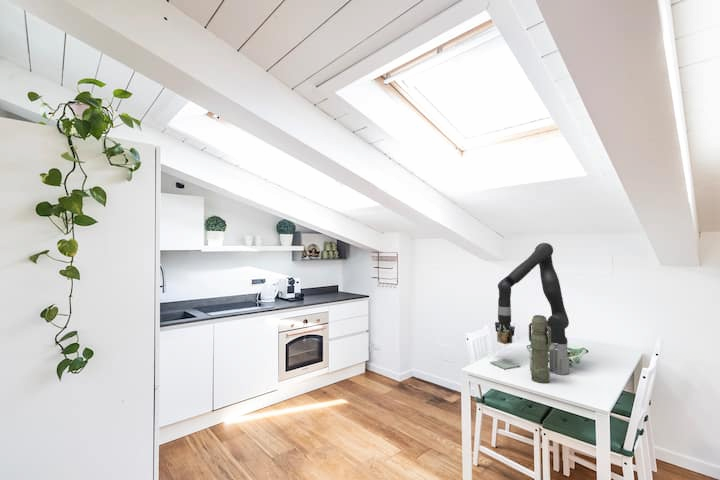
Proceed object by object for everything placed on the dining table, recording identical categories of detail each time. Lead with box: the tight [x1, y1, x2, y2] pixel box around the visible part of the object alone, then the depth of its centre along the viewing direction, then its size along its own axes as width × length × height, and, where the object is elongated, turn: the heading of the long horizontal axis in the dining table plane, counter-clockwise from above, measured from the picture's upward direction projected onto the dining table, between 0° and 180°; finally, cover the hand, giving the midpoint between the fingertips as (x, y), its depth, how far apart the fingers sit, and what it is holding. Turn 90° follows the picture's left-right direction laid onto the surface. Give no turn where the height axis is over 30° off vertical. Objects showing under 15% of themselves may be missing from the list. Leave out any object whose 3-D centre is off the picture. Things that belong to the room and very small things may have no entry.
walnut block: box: [496, 331, 513, 345], centre depth 211 cm, size 6×6×6 cm
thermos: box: [528, 314, 551, 384], centre depth 188 cm, size 9×12×35 cm
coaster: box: [489, 358, 521, 371], centre depth 211 cm, size 12×12×1 cm
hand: (504, 341), depth 211 cm, fingers closed on walnut block, 6 cm apart
